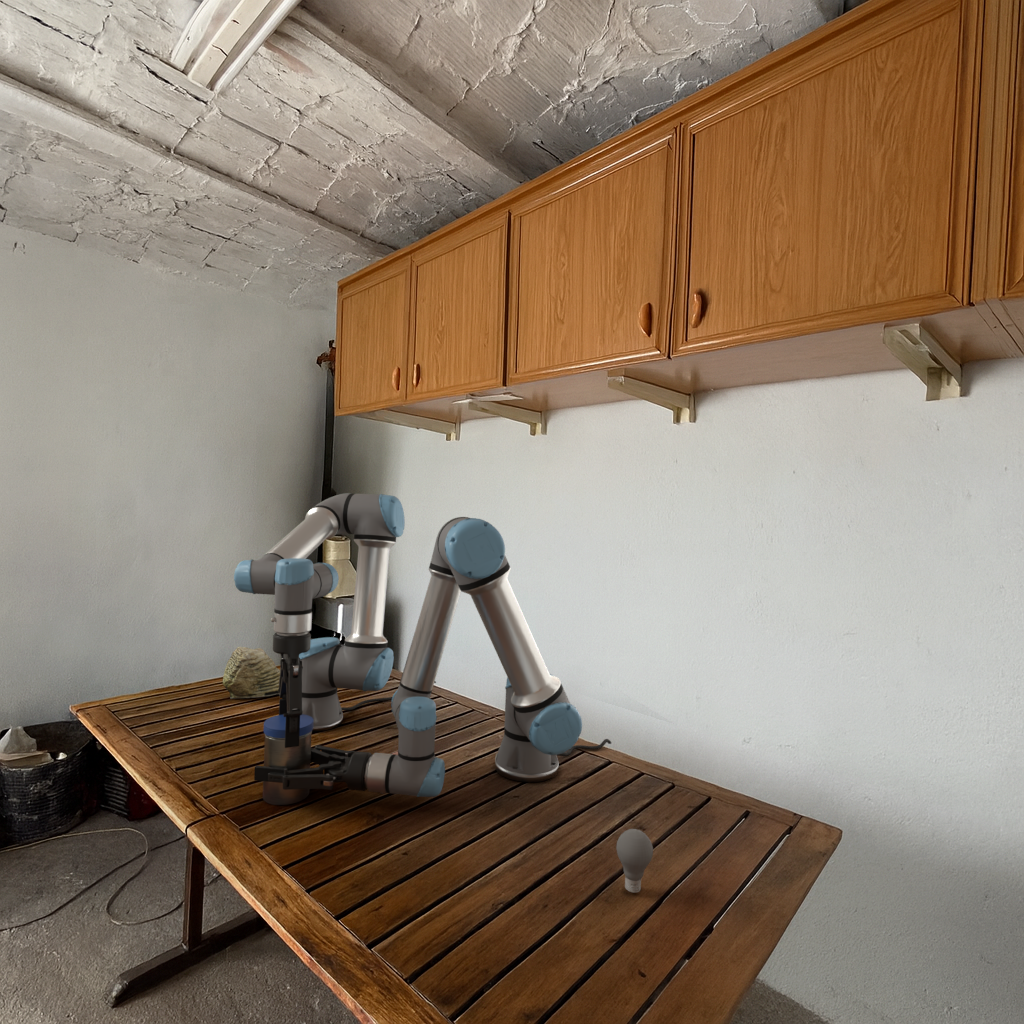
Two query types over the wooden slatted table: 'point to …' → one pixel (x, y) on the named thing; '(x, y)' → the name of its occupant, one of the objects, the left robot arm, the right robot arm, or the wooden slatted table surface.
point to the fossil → (251, 674)
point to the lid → (277, 726)
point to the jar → (281, 759)
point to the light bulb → (634, 857)
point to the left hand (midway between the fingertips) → (288, 737)
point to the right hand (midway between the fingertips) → (267, 762)
